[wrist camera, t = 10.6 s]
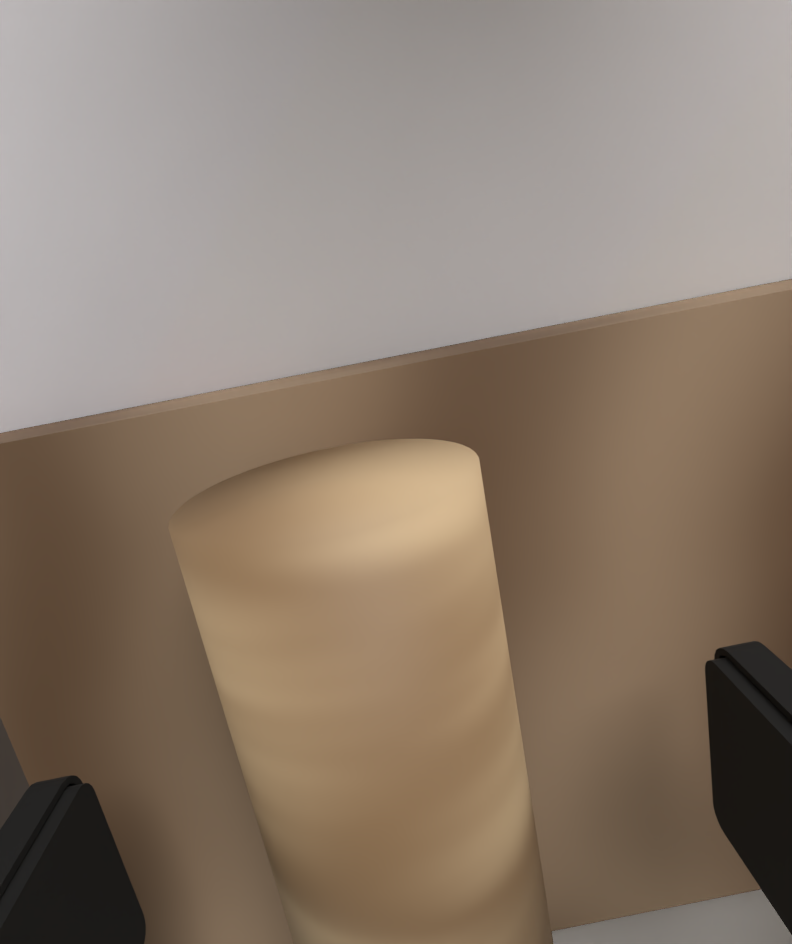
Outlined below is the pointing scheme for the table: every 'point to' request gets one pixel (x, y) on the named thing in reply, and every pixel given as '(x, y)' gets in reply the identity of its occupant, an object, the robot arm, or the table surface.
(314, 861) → the roller
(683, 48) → the table surface
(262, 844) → the track
